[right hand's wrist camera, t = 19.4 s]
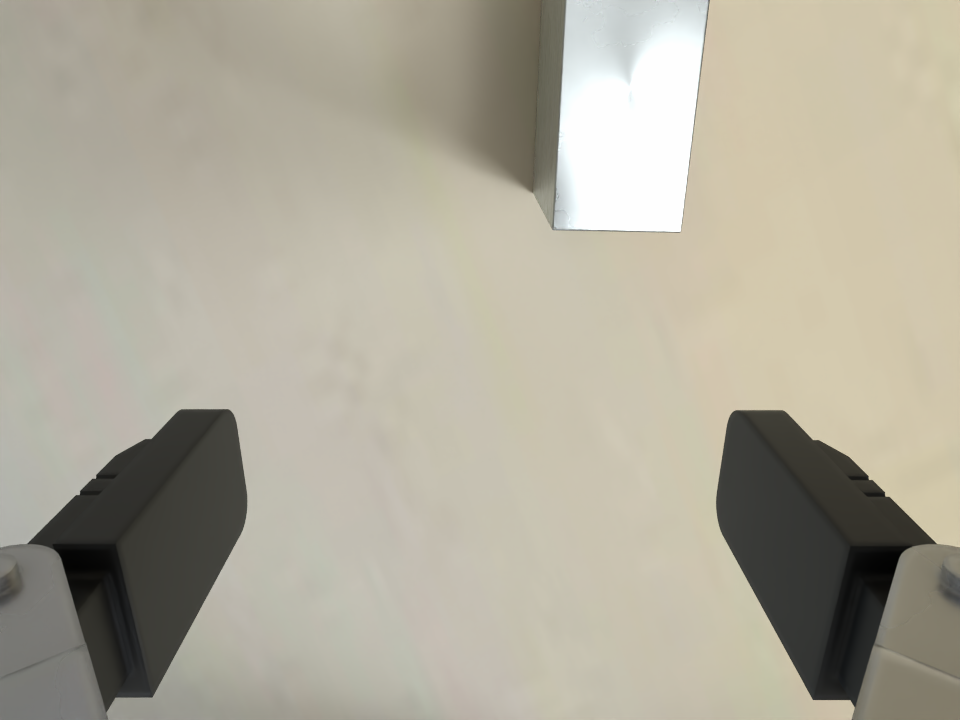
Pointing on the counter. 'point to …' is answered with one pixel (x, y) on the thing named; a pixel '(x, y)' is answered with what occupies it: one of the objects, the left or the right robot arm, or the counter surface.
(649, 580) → the counter surface
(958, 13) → the counter surface
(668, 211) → the block
